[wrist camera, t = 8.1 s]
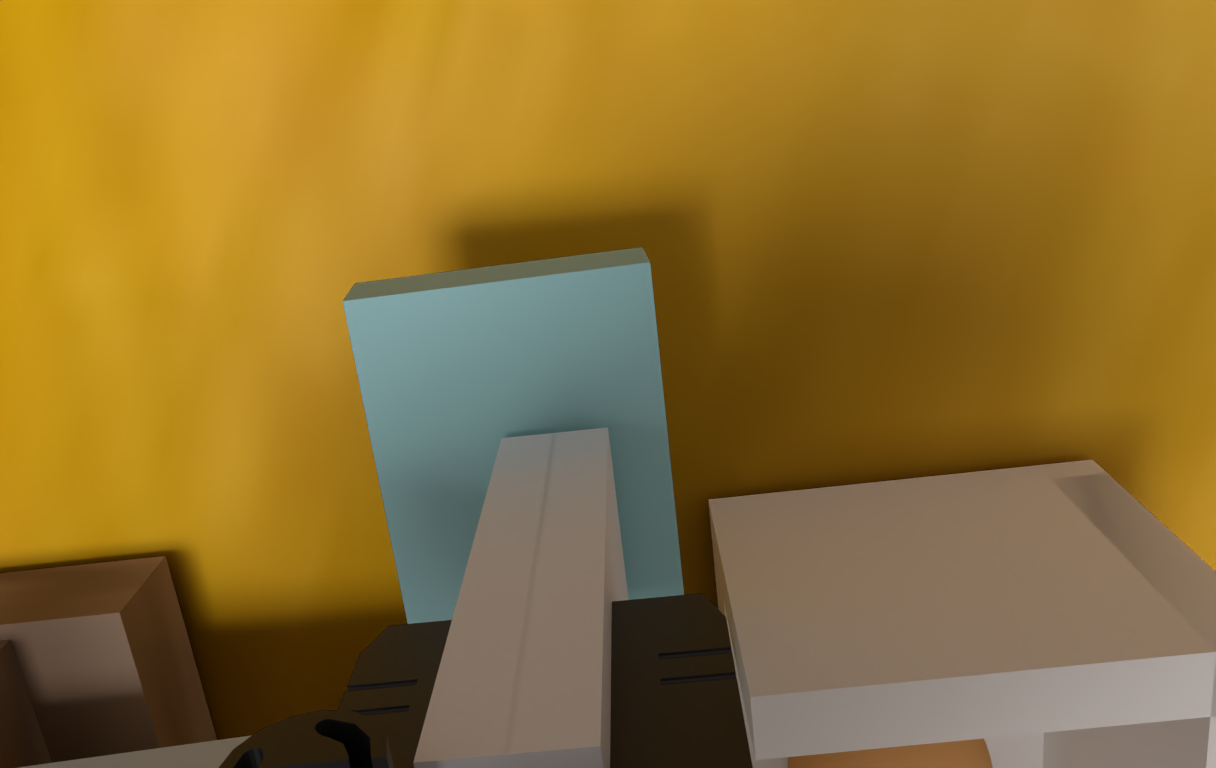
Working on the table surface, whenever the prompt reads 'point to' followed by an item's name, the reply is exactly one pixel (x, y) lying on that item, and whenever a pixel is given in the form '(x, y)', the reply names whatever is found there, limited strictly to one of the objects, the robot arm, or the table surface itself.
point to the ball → (904, 757)
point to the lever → (497, 418)
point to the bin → (969, 620)
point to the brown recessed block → (95, 664)
